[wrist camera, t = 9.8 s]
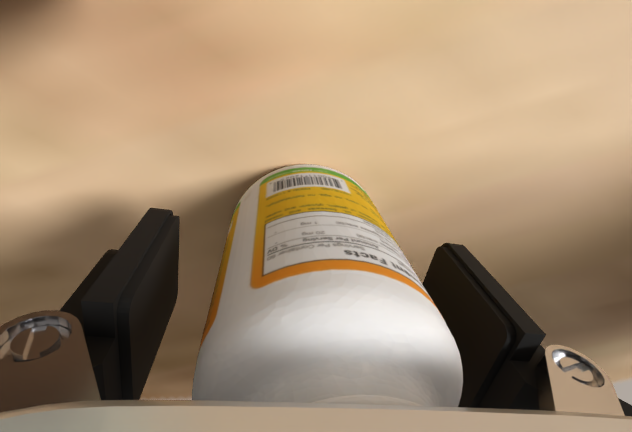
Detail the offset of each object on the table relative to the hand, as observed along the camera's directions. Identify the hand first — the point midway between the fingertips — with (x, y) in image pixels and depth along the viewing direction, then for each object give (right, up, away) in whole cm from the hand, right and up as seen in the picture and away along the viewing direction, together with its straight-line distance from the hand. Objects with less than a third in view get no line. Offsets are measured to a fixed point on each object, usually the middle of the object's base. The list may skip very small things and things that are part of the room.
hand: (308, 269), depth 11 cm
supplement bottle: (0, +1, +2) cm, 3 cm away
